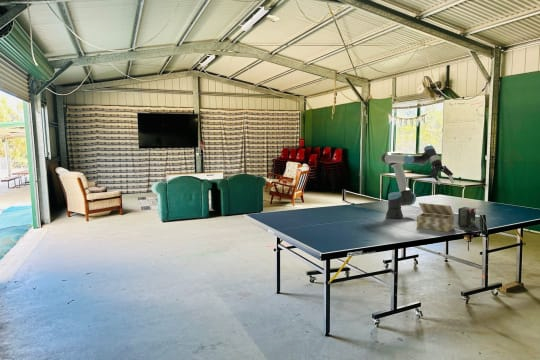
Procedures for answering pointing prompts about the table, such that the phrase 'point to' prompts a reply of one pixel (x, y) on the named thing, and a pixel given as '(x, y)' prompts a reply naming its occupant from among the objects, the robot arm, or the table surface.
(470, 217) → the tampon box
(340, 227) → the table surface
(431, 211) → the flap
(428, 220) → the open wooden box
